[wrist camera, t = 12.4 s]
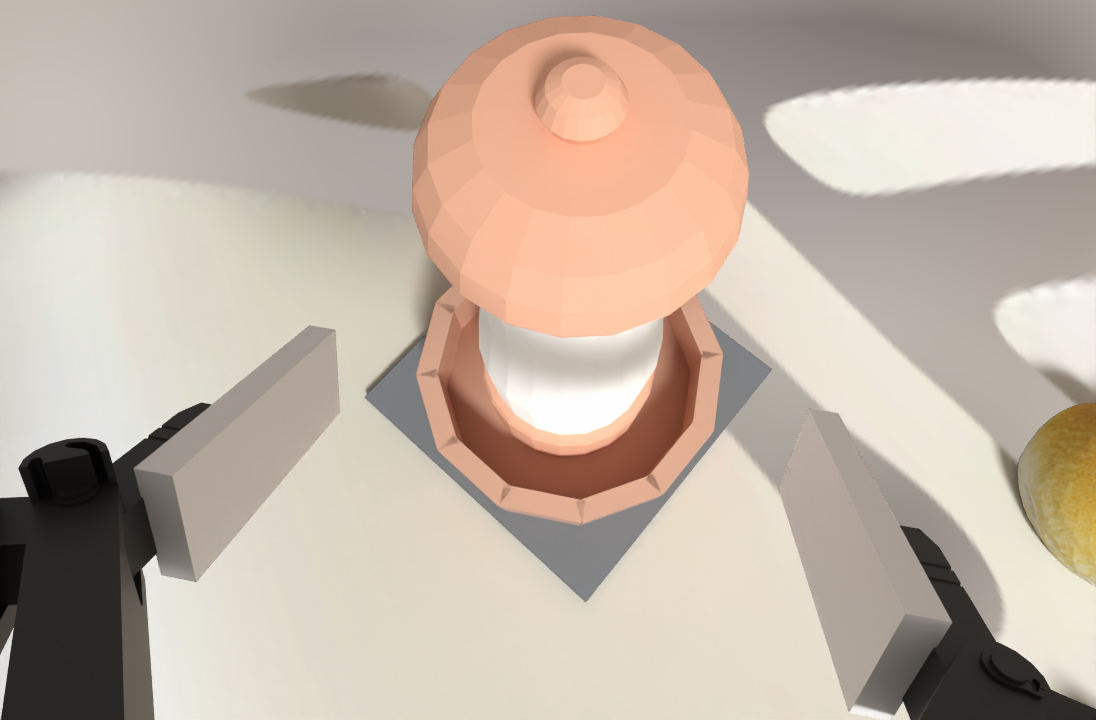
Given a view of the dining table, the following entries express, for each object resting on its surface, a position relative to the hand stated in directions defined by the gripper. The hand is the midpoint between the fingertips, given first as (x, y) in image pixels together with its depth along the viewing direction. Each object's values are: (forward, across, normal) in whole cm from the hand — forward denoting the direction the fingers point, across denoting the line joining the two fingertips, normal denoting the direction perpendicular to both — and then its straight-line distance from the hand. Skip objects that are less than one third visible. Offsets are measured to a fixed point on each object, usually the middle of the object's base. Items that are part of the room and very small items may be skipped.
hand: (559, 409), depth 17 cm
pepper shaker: (+11, 0, -5) cm, 12 cm away
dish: (+11, 0, -5) cm, 12 cm away
